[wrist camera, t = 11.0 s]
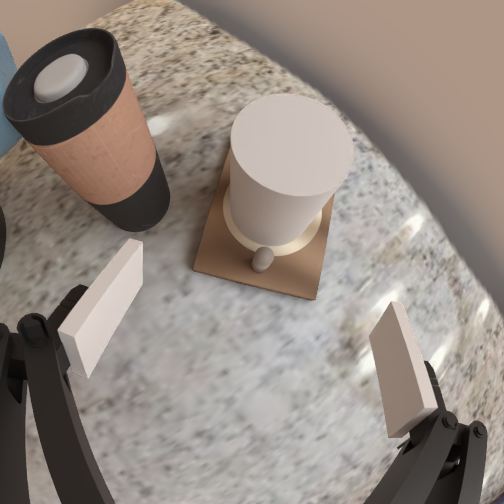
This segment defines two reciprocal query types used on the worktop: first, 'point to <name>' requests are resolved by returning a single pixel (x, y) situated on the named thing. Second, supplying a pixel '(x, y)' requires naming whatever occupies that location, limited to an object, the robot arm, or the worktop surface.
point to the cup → (285, 165)
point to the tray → (239, 258)
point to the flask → (499, 499)
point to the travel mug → (90, 126)
